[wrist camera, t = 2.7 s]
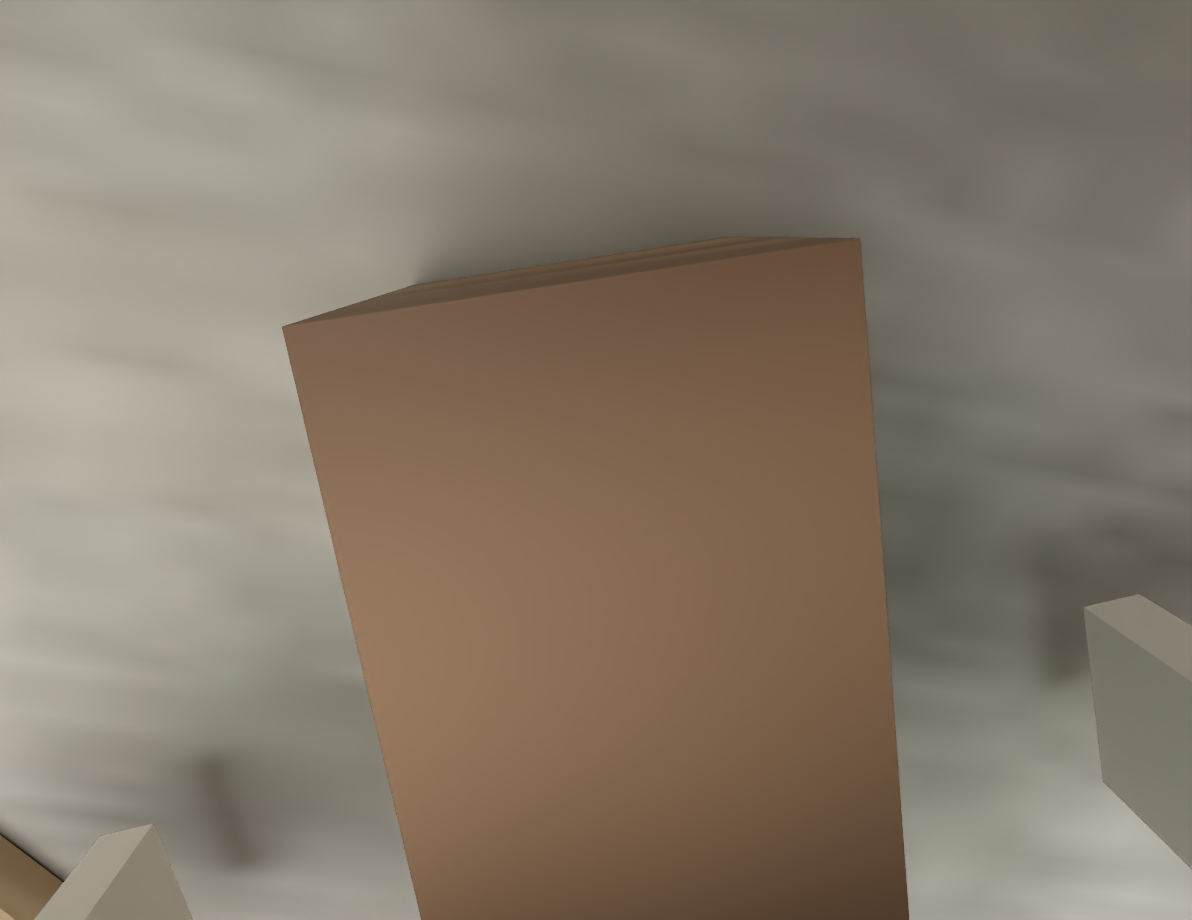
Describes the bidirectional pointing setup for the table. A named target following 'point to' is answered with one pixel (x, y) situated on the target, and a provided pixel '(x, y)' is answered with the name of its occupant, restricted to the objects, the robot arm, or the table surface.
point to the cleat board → (23, 884)
